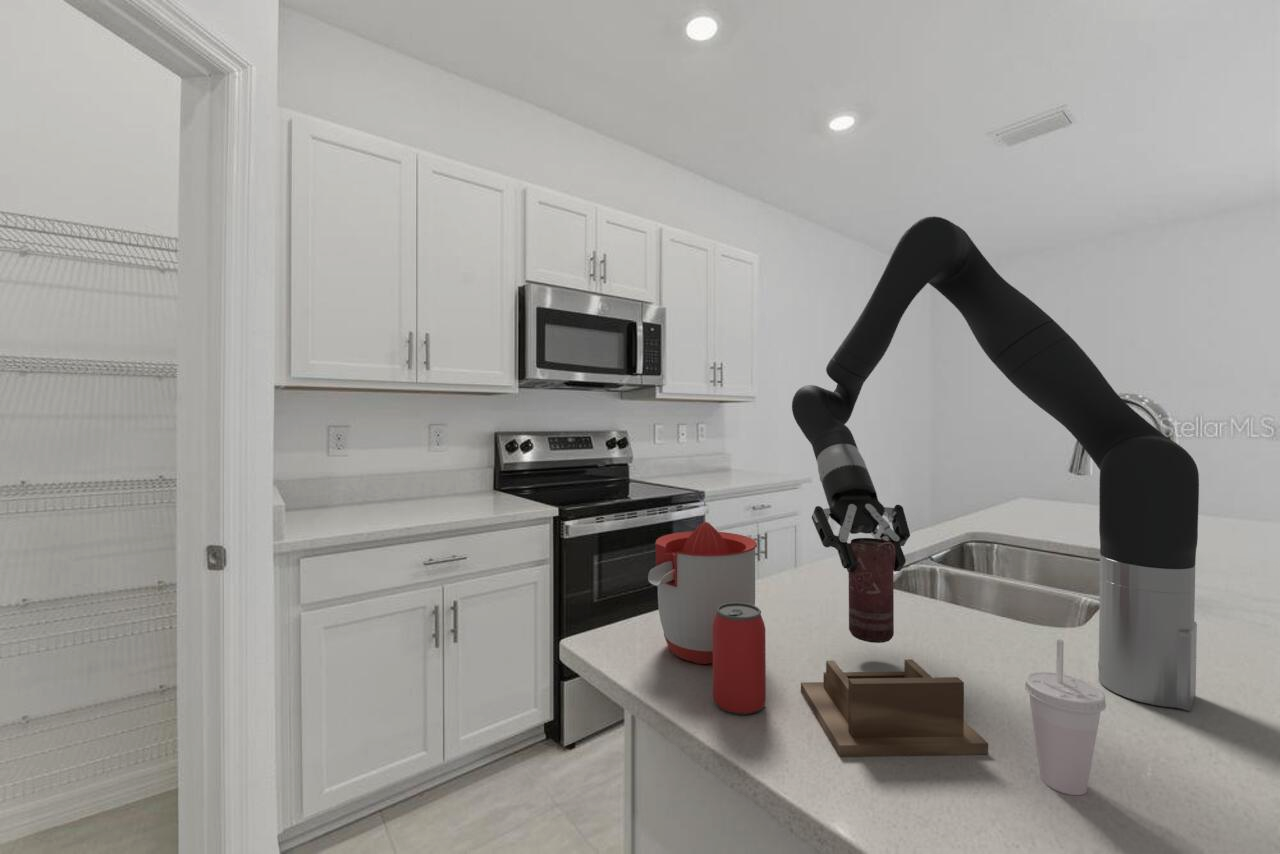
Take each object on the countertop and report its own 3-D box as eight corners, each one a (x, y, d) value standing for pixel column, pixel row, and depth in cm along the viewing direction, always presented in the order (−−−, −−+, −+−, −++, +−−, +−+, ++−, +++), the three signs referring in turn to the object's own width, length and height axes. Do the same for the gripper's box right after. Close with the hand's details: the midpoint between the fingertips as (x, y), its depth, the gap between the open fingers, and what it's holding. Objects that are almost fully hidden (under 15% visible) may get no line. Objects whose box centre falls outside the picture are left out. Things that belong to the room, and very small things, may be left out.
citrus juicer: (629, 643, 90) (627, 519, 90) (718, 623, 98) (717, 509, 98) (679, 685, 76) (678, 538, 76) (779, 658, 84) (778, 525, 84)
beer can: (702, 703, 71) (701, 609, 71) (733, 685, 76) (732, 597, 76) (745, 723, 67) (745, 623, 66) (775, 703, 71) (775, 609, 71)
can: (900, 645, 80) (899, 546, 79) (852, 642, 81) (852, 545, 80) (890, 628, 86) (889, 537, 85) (846, 626, 87) (845, 536, 86)
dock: (800, 691, 74) (800, 637, 74) (921, 689, 74) (921, 635, 74) (839, 756, 60) (839, 690, 60) (988, 754, 60) (988, 687, 60)
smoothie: (1068, 761, 59) (1070, 629, 59) (1123, 804, 53) (1125, 656, 52) (1009, 763, 59) (1010, 630, 58) (1056, 806, 52) (1058, 657, 52)
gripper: (805, 464, 90) (832, 556, 78) (895, 462, 90) (935, 554, 79) (796, 492, 95) (820, 583, 84) (881, 490, 96) (916, 581, 84)
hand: (876, 568), depth 81 cm, fingers closed on can, 6 cm apart
